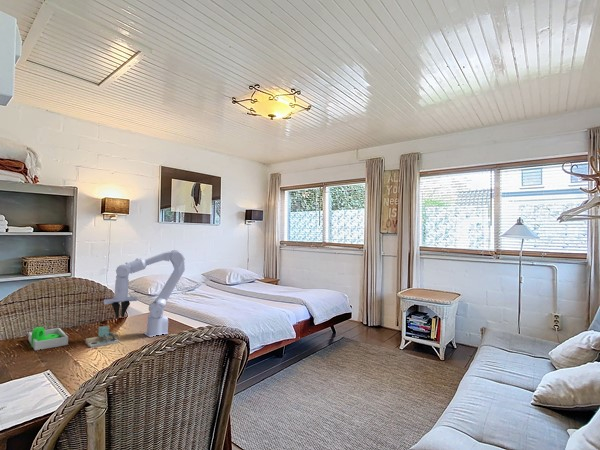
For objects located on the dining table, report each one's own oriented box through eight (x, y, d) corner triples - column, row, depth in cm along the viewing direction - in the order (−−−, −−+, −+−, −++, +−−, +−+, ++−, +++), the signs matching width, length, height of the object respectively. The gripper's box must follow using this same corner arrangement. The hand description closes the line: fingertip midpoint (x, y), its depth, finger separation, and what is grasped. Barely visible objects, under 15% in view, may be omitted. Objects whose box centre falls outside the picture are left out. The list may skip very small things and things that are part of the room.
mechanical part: (46, 347, 141) (46, 329, 141) (31, 347, 141) (31, 329, 141) (62, 338, 153) (63, 321, 153) (49, 338, 153) (49, 321, 153)
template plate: (115, 339, 154) (115, 337, 154) (118, 342, 151) (119, 340, 151) (87, 345, 146) (87, 342, 146) (90, 348, 142) (90, 345, 142)
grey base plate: (115, 337, 158) (116, 331, 158) (120, 340, 153) (121, 334, 154) (84, 342, 149) (85, 336, 149) (89, 346, 144) (89, 339, 144)
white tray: (59, 335, 157) (59, 327, 157) (67, 344, 145) (68, 336, 145) (28, 340, 149) (28, 332, 149) (34, 350, 137) (35, 342, 137)
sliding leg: (106, 335, 155) (106, 325, 155) (111, 339, 150) (111, 329, 151) (98, 337, 153) (98, 326, 153) (102, 341, 148) (103, 330, 148)
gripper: (134, 286, 166) (132, 313, 166) (102, 289, 156) (100, 317, 155) (139, 288, 162) (137, 316, 161) (107, 291, 151) (105, 320, 151)
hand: (119, 317), depth 158 cm, fingers closed
